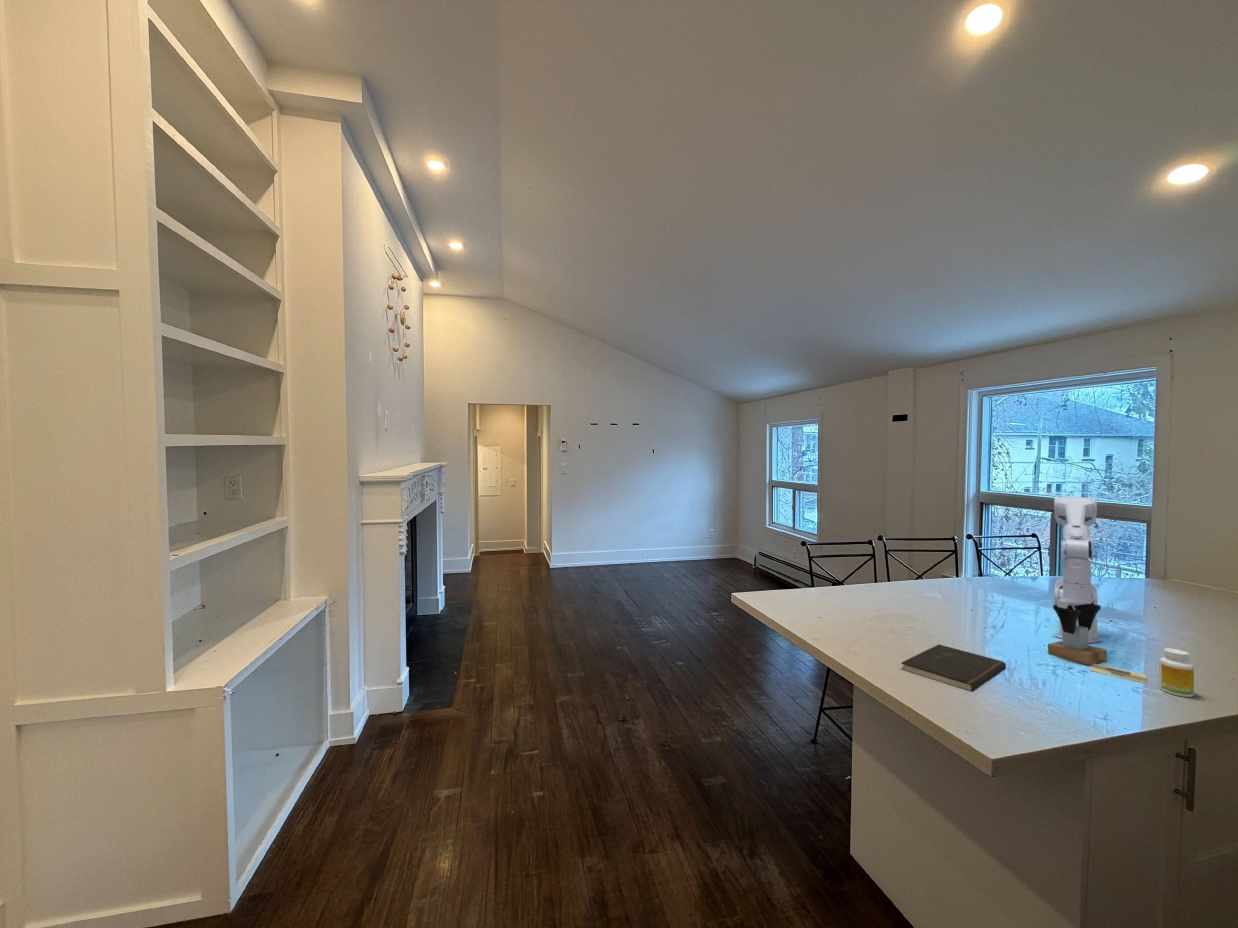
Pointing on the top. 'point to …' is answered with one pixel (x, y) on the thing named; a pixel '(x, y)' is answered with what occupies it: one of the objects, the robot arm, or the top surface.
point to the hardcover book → (954, 667)
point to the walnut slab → (1078, 653)
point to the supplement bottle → (1176, 673)
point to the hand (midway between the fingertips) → (1076, 631)
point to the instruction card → (1119, 673)
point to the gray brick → (1076, 638)
